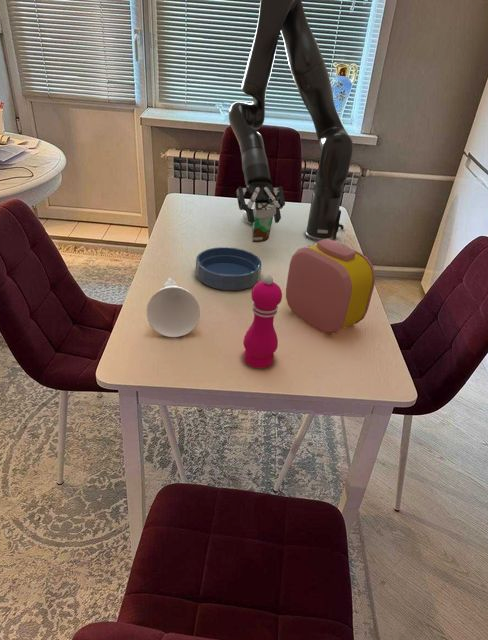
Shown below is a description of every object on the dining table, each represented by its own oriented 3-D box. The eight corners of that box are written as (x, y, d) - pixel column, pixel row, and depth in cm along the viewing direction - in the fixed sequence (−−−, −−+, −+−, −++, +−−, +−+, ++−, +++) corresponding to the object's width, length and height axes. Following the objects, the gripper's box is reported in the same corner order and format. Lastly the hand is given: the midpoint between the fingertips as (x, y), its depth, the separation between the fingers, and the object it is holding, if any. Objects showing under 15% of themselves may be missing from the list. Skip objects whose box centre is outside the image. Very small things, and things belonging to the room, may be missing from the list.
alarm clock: (364, 330, 119) (384, 256, 108) (335, 344, 113) (353, 268, 102) (309, 297, 130) (321, 227, 119) (279, 309, 123) (289, 236, 112)
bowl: (247, 259, 145) (248, 245, 142) (269, 288, 132) (270, 273, 129) (189, 263, 140) (189, 249, 137) (205, 294, 126) (206, 278, 124)
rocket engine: (170, 256, 120) (170, 276, 104) (205, 287, 125) (211, 310, 108) (140, 290, 123) (135, 315, 106) (175, 319, 127) (176, 347, 111)
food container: (273, 246, 141) (278, 212, 135) (252, 244, 141) (255, 210, 135) (272, 229, 151) (276, 197, 145) (252, 227, 151) (255, 195, 145)
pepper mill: (273, 350, 109) (286, 268, 97) (276, 370, 103) (289, 286, 91) (241, 348, 108) (249, 266, 97) (242, 369, 102) (251, 283, 91)
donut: (265, 216, 176) (238, 216, 173) (266, 206, 174) (239, 206, 171) (274, 226, 168) (247, 227, 165) (276, 217, 166) (248, 217, 163)
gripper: (236, 161, 138) (245, 217, 136) (283, 162, 143) (292, 216, 141) (228, 175, 145) (238, 228, 143) (273, 174, 150) (283, 226, 148)
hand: (265, 222), depth 142 cm, fingers closed on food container, 7 cm apart
